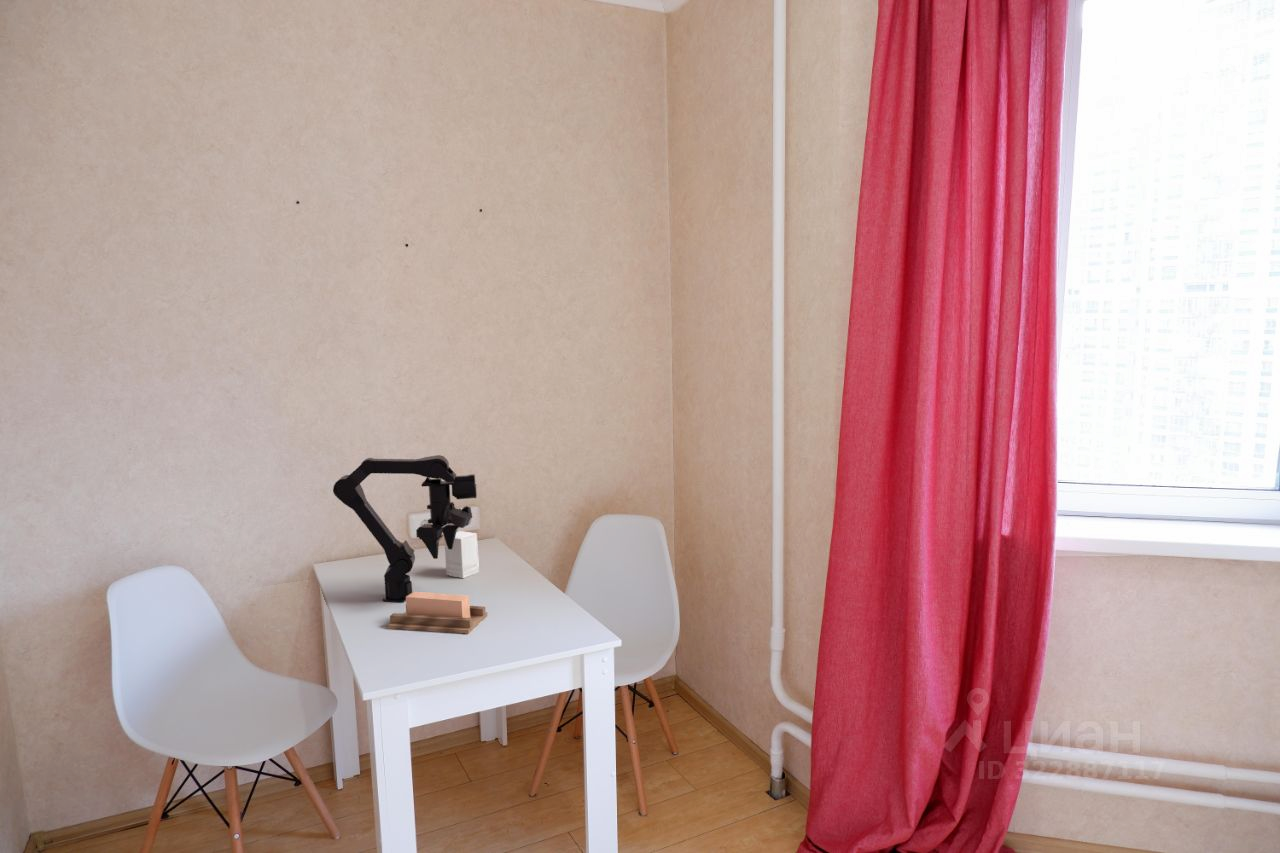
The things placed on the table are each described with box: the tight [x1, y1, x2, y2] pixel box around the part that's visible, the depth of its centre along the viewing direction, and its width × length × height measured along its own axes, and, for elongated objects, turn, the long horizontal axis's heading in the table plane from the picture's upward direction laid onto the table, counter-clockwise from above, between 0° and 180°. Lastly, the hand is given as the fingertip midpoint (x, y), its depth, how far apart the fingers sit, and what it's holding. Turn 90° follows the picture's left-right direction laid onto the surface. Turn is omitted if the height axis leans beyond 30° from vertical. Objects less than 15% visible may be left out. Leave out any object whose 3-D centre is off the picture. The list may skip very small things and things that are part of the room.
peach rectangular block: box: [405, 591, 471, 618], centre depth 195 cm, size 16×4×6 cm, turn 75°
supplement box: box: [443, 530, 480, 579], centre depth 234 cm, size 7×7×13 cm
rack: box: [387, 605, 489, 635], centre depth 196 cm, size 22×12×3 cm, turn 78°
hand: (443, 553), depth 215 cm, fingers open, 9 cm apart
